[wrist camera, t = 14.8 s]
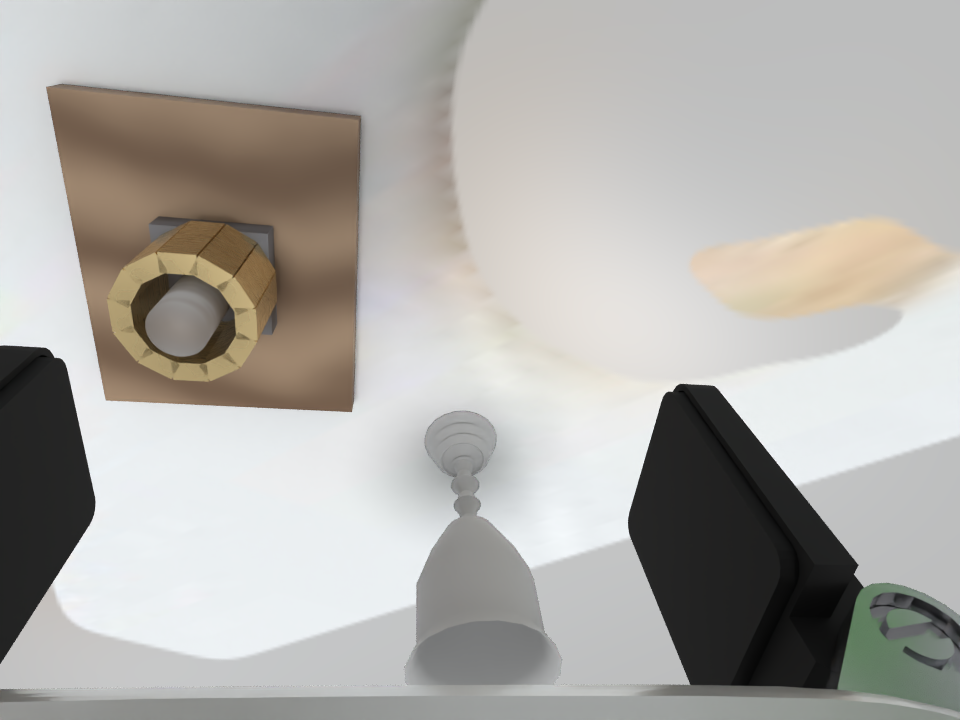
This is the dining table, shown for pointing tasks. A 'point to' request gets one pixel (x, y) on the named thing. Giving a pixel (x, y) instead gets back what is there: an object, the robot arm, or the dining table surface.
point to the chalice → (475, 583)
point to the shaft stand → (234, 201)
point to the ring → (218, 263)
